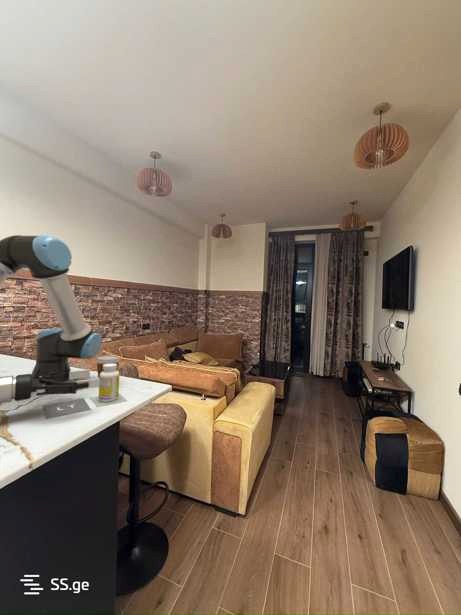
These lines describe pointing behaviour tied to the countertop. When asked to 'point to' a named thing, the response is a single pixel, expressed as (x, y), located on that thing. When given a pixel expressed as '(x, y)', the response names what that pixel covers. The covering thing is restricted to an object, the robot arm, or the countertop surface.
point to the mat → (99, 403)
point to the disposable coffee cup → (106, 362)
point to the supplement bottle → (109, 383)
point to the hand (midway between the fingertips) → (94, 377)
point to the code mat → (65, 408)
